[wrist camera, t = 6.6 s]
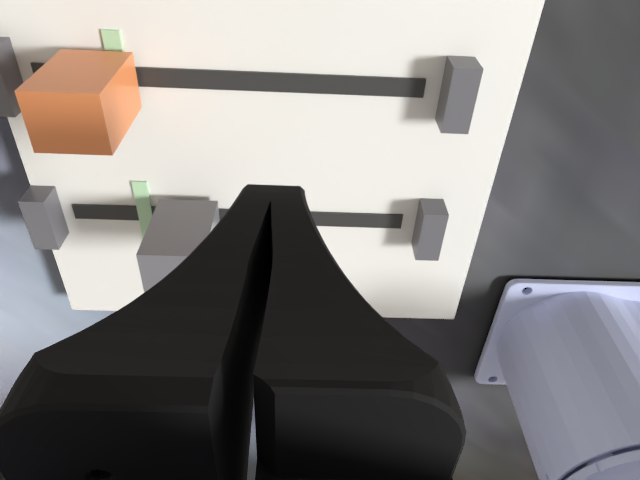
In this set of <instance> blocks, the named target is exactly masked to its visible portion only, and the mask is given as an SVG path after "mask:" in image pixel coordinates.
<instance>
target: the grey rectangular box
mask: <svg viewBox="0 0 640 480" xmlns="http://www.w3.org/2000/svg"><path fill="white" fill-rule="evenodd" d="M219 221H220V218H219V207H218V201H206V200H175V199H159V201H158V203H157V205H156V208H155V210H154V213H153V215H152V217H151V220H150V222H149V225H148V227H147V230H146V232H145V234H144V237H143V239H142V242H141V244H140V247H139V249H138V251H137V254H136V257H137V261H138V266H139V271H140V275H141V280H142V285H143V289H144V292H146V291H147V290H149V289H150V288H151V287H153V286H154V285H155V284H157V283H158V282H159V281H161V280H162V279H163V278H164V277H165V276H167V275H168V274H169V273H170V272H171V271H172V270H174V269H175V268H176V267H177V266H178V265H179V264H180V263H181V262H182V261H183V260H184V259H185V258H187V257H188V256H189V255H190V254H191V252H192V251H193V250H194V249H195V248H196V247H197V246H198V245H199V244H200V243H201V242H202V241H203V240H204V239H205V238H206V237H207V235H208V234H209V233H210V232H211V231H212V230H213V228H214V227H215V226H216V225H217V223H218V222H219Z"/></svg>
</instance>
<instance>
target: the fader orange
mask: <svg viewBox="0 0 640 480" xmlns="http://www.w3.org/2000/svg"><path fill="white" fill-rule="evenodd" d="M15 95H16V98H17V101H18V104H19V107H20V110H21V113H22V116H23V120H24V123H25V126H26V129H27V132H28V135H29V138H30V141H31V145H32V148H33V151H34V153H51V154H80V155H108V156H113V154H114V153H115V151H116V149H117V148H118V146H119V144H120V143H121V141H122V139H123V138H124V136H125V134H126V133H127V131H128V130H129V128H130V126H131V125H132V123H133V121H134V120H135V118H136V116H137V115H138V113H139V111H140V110H141V108H142V104H141V98H140V92H139V86H138V80H137V75H136V69H135V63H134V57H133V52H120V51H96V50H72V49H61V50H60V51H59V52H57V53H56V54H55V55H54V56H53V57H52V58H51V59H50V60H48V61H47V62H46V63H45V64H44V65H43V66H42V67H41V68H39V69H38V70H37V71H36V72H35V73H34V74H33V75H32V76H31V77H29V78H28V79H27V80H26V81H25V82H24V83H23V84H22V85H20V86H19V87H18V88H17V89H16V90H15Z"/></svg>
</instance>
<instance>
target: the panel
mask: <svg viewBox="0 0 640 480" xmlns="http://www.w3.org/2000/svg"><path fill="white" fill-rule="evenodd" d="M544 2H545V0H0V117H7V118H8V121H9V124H10V127H11V130H12V133H13V136H14V138H15V141H16V144H17V147H18V150H19V153H20V156H21V159H22V162H23V165H24V168H25V171H26V174H27V177H28V180H29V183H30V186H29V188H28V189H27V190H26V191H25V193H24V194H23V195H22V197H21V198H20V199H19V200H18V204H19V207H20V210H21V212H22V215H23V218H24V221H25V223H26V226H27V229H28V232H29V234H30V237H31V240H32V243H33V245H34V248H35V249H47V250H52V251H53V254H54V257H55V260H56V262H57V265H58V268H59V271H60V274H61V277H62V280H63V283H64V286H65V289H66V292H67V295H68V298H69V301H70V304H71V307H72V310H110V311H118V310H119V309H121V308H123V307H124V306H126V305H127V304H129V303H130V302H132V301H133V300H135V299H136V298H137V297H139V296H140V295H142V294H143V293H144V289H143V285H142V280H141V275H140V271H139V266H138V261H137V257H136V254H137V251H138V249H139V247H140V244H141V242H142V239H143V237H144V234H145V232H146V230H147V227H148V225H149V222H150V220H151V217H152V215H153V213H154V210H155V208H156V205H157V203H158V201H159V199H175V200H206V201H218V207H219V218H220V220H221V219H222V217H223V216H224V215H225V213H226V212H227V211H228V209H229V208H230V207H231V205H232V204H233V203H234V201H235V200H236V198H237V197H238V195H239V194H240V192H241V190H242V189H243V188H244V187H245V186H246V185H247V184H256V185H285V186H301V187H302V188H303V189H304V190H305V196H306V201H307V204H308V207H309V210H310V212H311V215H312V218H313V220H314V222H315V224H316V226H317V228H318V230H319V232H320V234H321V236H322V238H323V240H324V242H325V244H326V246H327V247H328V249H329V251H330V253H331V254H332V256H333V257H334V259H335V261H336V262H337V264H338V265H339V267H340V268H341V270H342V271H343V272H344V274H345V275H346V277H347V278H348V279H349V281H350V282H351V283H352V284H353V286H354V287H355V288H356V289H357V291H358V292H359V293H360V294H361V295H362V296H363V298H364V299H365V300H366V301H367V302H368V303H369V304H370V305H371V306H372V307H373V308H374V309H375V310H376V311H377V312H378V313H379V314H380V315H381V316H382V317H388V318H428V319H454V318H455V314H456V311H457V307H458V304H459V300H460V297H461V293H462V290H463V286H464V283H465V279H466V276H467V272H468V269H469V265H470V262H471V258H472V254H473V251H474V247H475V244H476V240H477V237H478V233H479V230H480V226H481V223H482V219H483V216H484V212H485V209H486V205H487V202H488V198H489V195H490V191H491V188H492V184H493V181H494V177H495V174H496V170H497V167H498V163H499V160H500V156H501V153H502V149H503V146H504V142H505V139H506V135H507V132H508V128H509V125H510V121H511V118H512V114H513V111H514V107H515V104H516V100H517V97H518V93H519V89H520V86H521V82H522V79H523V75H524V72H525V68H526V65H527V61H528V58H529V54H530V51H531V47H532V44H533V40H534V37H535V33H536V30H537V26H538V23H539V19H540V16H541V12H542V9H543V5H544ZM61 49H72V50H96V51H120V52H133V57H134V63H135V69H136V75H137V80H138V86H139V92H140V98H141V104H142V108H141V110H140V111H139V113H138V115H137V116H136V118H135V120H134V121H133V123H132V125H131V126H130V128H129V130H128V131H127V133H126V134H125V136H124V138H123V139H122V141H121V143H120V144H119V146H118V148H117V149H116V151H115V153H114V154H113V156H108V155H80V154H51V153H34V151H33V148H32V145H31V141H30V138H29V135H28V132H27V129H26V126H25V123H24V120H23V116H22V113H21V110H20V107H19V104H18V101H17V98H16V95H15V90H16V89H17V88H18V87H19V86H20V85H22V84H23V83H24V82H25V81H26V80H27V79H28V78H29V77H31V76H32V75H33V74H34V73H35V72H36V71H37V70H38V69H39V68H41V67H42V66H43V65H44V64H45V63H46V62H47V61H48V60H50V59H51V58H52V57H53V56H54V55H55V54H56V53H57V52H59V51H60V50H61Z"/></svg>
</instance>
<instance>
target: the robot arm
mask: <svg viewBox="0 0 640 480" xmlns="http://www.w3.org/2000/svg"><path fill="white" fill-rule="evenodd" d="M527 287H529V288H527ZM524 288H527V289H524ZM523 289H524V290H523ZM474 377H475V380H476V382H478V383H480V384H507V387H508V390H509V393H510V396H511V399H512V402H513V405H514V408H515V411H516V414H517V417H518V420H519V422H520V425H521V428H522V431H523V434H524V437H525V440H526V443H527V446H528V449H529V452H530V455H531V457H532V460H533V463H534V466H535V469H536V472H537V475H538V478H539V480H640V282H617V281H581V280H546V279H513V280H510V281H509V282H508V283H507V284H506V285H505V288H504V291H503V294H502V297H501V299H500V302H499V305H498V308H497V311H496V314H495V317H494V319H493V322H492V325H491V328H490V331H489V334H488V337H487V339H486V342H485V345H484V348H483V351H482V354H481V357H480V359H479V362H478V365H477V368H476V371H475V374H474ZM253 398H254V405H255V424H256V444H257V466H256V477H255V480H453V479H452V476H453V473H454V470H455V468H456V465H457V462H458V460H459V457H460V454H461V452H462V449H463V446H464V443H465V436H466V429H465V425H464V420H463V416H462V413H461V409H460V407H459V404H458V401H457V399H456V396H455V394H454V392H453V389H452V387H451V384H450V382H449V380H448V378H447V376H446V374H445V372H444V370H443V368H442V366H441V364H440V363H439V362H438V361H436V360H435V359H433V358H432V357H431V356H429V355H428V354H427V353H425V352H424V351H422V350H421V349H420V348H418V347H417V346H415V345H414V344H413V343H411V342H410V341H409V340H407V339H406V338H405V337H403V336H402V335H401V334H400V333H399V332H398V331H396V330H395V329H394V328H393V327H392V326H391V325H390V324H389V323H388V322H387V321H386V320H385V319H384V318H383V317H382V316H381V315H380V314H379V313H378V312H377V311H376V310H375V309H374V308H373V307H372V306H371V305H370V304H369V303H368V302H367V301H366V300H365V299H364V298H363V296H362V295H361V294H360V293H359V292H358V291H357V289H356V288H355V287H354V286H353V284H352V283H351V282H350V281H349V279H348V278H347V277H346V275H345V274H344V272H343V271H342V270H341V268H340V267H339V265H338V264H337V262H336V261H335V259H334V257H333V256H332V254H331V253H330V251H329V249H328V247H327V246H326V244H325V242H324V240H323V238H322V236H321V234H320V232H319V230H318V228H317V226H316V224H315V222H314V220H313V218H312V215H311V212H310V210H309V207H308V204H307V201H306V196H305V190H304V189H303V188H302V187H301V186H285V185H256V184H247V185H246V186H245V187H244V188H243V189H242V190H241V192H240V194H239V195H238V197H237V198H236V200H235V201H234V203H233V204H232V205H231V207H230V208H229V209H228V211H227V212H226V213H225V215H224V216H223V217H222V219H221V220H220V221H219V222H218V223H217V225H216V226H215V227H214V228H213V230H212V231H211V232H210V233H209V234H208V235H207V237H206V238H205V239H204V240H203V241H202V242H201V243H200V244H199V245H198V246H197V247H196V248H195V249H194V250H193V251H192V252H191V254H190V255H189V256H188V257H187V258H185V259H184V260H183V261H182V262H181V263H180V264H179V265H178V266H177V267H176V268H175V269H174V270H172V271H171V272H170V273H169V274H168V275H167V276H165V277H164V278H163V279H162V280H161V281H159V282H158V283H157V284H155V285H154V286H153V287H151V288H150V289H149V290H147V291H146V292H144V293H143V294H142V295H140V296H139V297H137V298H136V299H135V300H133V301H132V302H130V303H129V304H127V305H126V306H124V307H123V308H121V309H119V310H118V311H116V312H114V313H113V314H111V315H109V316H108V317H106V318H104V319H102V320H101V321H99V322H97V323H95V324H94V325H92V326H90V327H88V328H86V329H84V330H82V331H80V332H78V333H76V334H74V335H72V336H70V337H68V338H66V339H64V340H62V341H60V342H57V343H55V344H53V345H51V346H49V347H47V348H45V349H43V350H40V351H38V352H36V353H34V355H33V356H32V358H31V359H30V361H29V362H28V364H27V365H26V367H25V368H24V369H23V371H22V372H21V374H20V375H19V377H18V378H17V380H16V382H15V383H14V385H13V387H12V388H11V390H10V392H9V394H8V396H7V398H6V400H5V401H4V403H3V405H2V407H1V409H0V470H1V472H2V473H3V475H4V477H5V478H6V480H247V470H248V457H249V445H250V433H251V421H252V409H253Z"/></svg>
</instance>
